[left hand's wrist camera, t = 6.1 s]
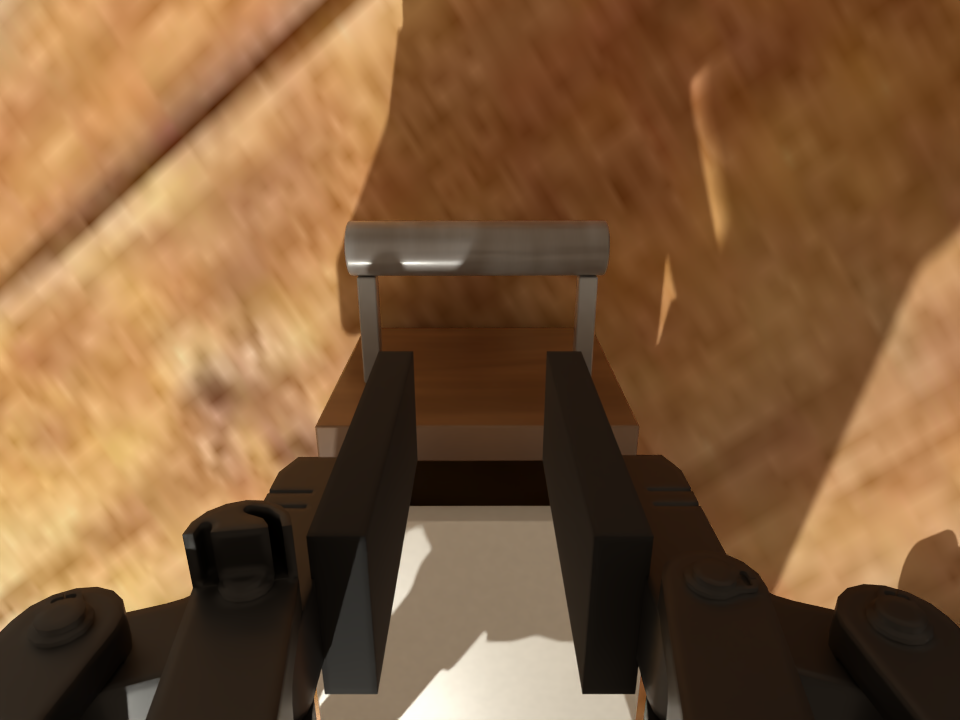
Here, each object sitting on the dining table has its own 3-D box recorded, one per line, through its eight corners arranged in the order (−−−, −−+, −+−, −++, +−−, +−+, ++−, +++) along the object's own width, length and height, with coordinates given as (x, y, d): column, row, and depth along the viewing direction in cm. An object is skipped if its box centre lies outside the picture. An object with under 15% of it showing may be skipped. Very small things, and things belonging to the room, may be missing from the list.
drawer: (354, 195, 26) (295, 243, 17) (601, 195, 26) (657, 243, 17) (386, 649, 34) (356, 825, 26) (571, 649, 34) (600, 826, 26)
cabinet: (357, 378, 29) (295, 522, 19) (598, 377, 29) (659, 521, 19) (381, 690, 36) (344, 914, 26) (576, 689, 36) (613, 913, 26)
